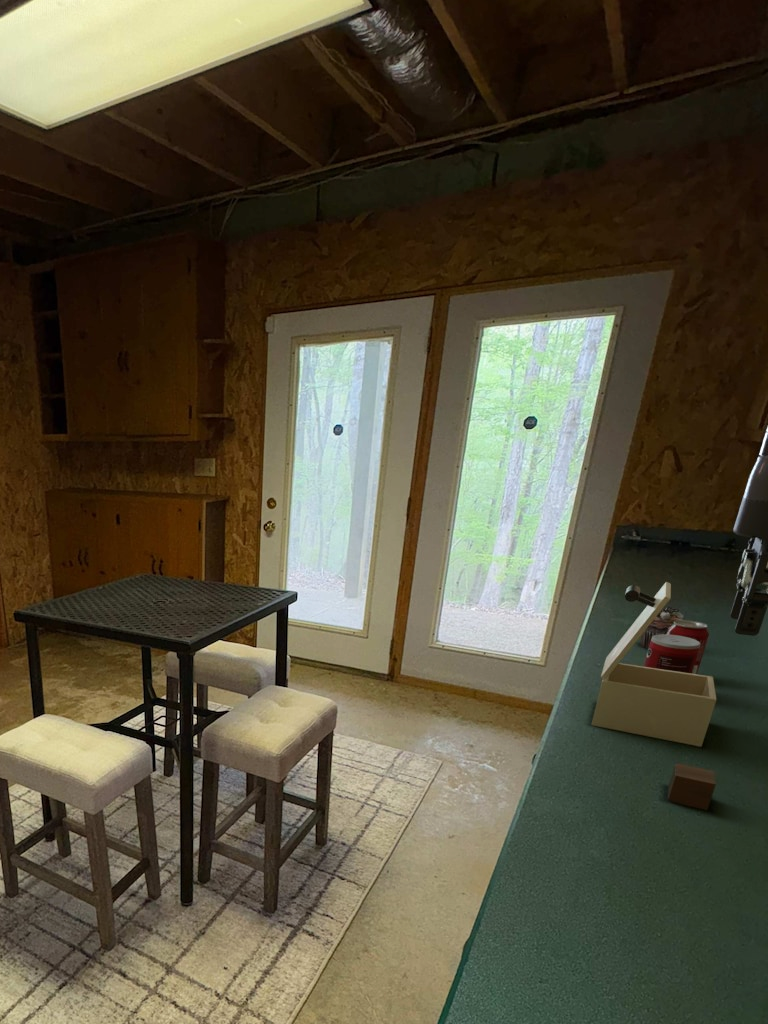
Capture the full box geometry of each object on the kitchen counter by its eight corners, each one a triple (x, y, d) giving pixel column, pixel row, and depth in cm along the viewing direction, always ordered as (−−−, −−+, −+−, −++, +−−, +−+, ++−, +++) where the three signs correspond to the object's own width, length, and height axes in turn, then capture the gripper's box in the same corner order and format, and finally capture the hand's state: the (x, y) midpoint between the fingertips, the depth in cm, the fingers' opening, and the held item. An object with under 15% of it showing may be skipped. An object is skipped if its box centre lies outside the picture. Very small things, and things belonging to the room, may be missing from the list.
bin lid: (671, 583, 110) (638, 570, 112) (670, 598, 101) (635, 583, 103) (610, 660, 119) (581, 646, 121) (605, 680, 110) (574, 664, 112)
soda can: (700, 684, 130) (717, 629, 126) (661, 681, 132) (676, 626, 128) (688, 673, 136) (704, 620, 131) (651, 670, 138) (665, 618, 134)
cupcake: (663, 656, 146) (675, 615, 143) (626, 644, 155) (636, 605, 152) (695, 652, 148) (708, 611, 145) (657, 640, 157) (667, 601, 154)
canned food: (659, 682, 131) (674, 632, 127) (695, 696, 124) (712, 644, 120) (628, 686, 130) (641, 635, 126) (662, 700, 123) (677, 647, 119)
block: (667, 789, 93) (675, 763, 91) (705, 797, 90) (714, 771, 89) (667, 802, 90) (675, 775, 88) (706, 811, 87) (715, 784, 86)
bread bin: (698, 721, 114) (712, 676, 110) (701, 747, 104) (716, 699, 101) (597, 703, 123) (607, 661, 119) (591, 726, 113) (602, 681, 110)
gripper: (841, 502, 67) (789, 645, 73) (818, 492, 78) (775, 617, 84) (749, 500, 71) (707, 635, 77) (739, 490, 82) (703, 610, 88)
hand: (742, 626), depth 81 cm, fingers open, 8 cm apart
